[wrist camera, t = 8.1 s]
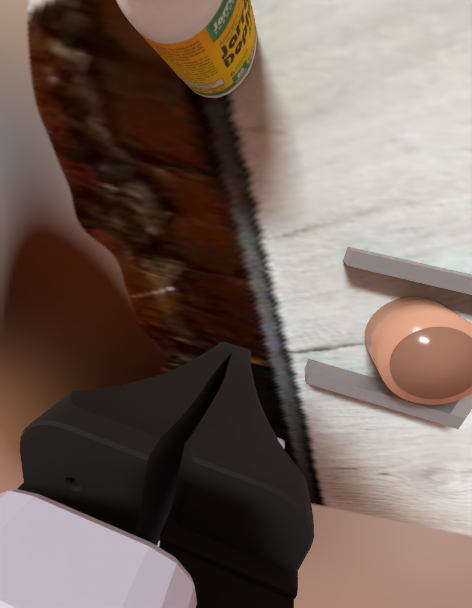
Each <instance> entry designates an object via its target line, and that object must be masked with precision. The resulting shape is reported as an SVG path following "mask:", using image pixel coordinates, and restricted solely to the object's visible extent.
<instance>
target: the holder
mask: <svg viewBox="0 0 472 608" xmlns="http://www.w3.org/2000/svg"><path fill="white" fill-rule="evenodd" d="M343 261H344V262H345V263H346V265H347V266H350V267H354V268H359V269H363V270H367V271H371V272H376V273H380V274H384V275H388V276H393V277H397V278H401V279H405V280H410V281H414V282H418V283H422V284H427V285H431V286H435V287H440V288H444V289H448V290H452V291H457V292H461V293H465V294H469V295H472V275H471V274H466V273H462V272H457V271H453V270H448V269H444V268H439V267H435V266H430V265H426V264H422V263H417V262H413V261H408V260H404V259H399V258H395V257H390V256H386V255H382V254H377V253H373V252H368V251H364V250H359V249H355V248H350V247H348V248H347V251H346V254H345V256H344V259H343ZM305 381H306V384H310V385H313V386H316V387H320V388H323V389H326V390H330V391H333V392H336V393H339V394H343V395H346V396H349V397H353V398H356V399H359V400H363V401H366V402H369V403H373V404H376V405H379V406H383V407H386V408H389V409H393V410H396V411H399V412H403V413H406V414H409V415H413V416H416V417H419V418H423V419H426V420H429V421H433V422H436V423H439V424H442V425H446V426H449V427H452V428H456V429H459V427H460V426H461V424H462V423H463V421H464V420H465V418H466V417H467V415H468V414H469V412H470V411H471V409H472V394H470V395H468V396H466V397H464V398H462V399H460V400H457V401H454V402H450V403H446V404H438V405H426V404H419V403H414V402H411V401H408V400H405V399H403V398H401V397H399V396H398V395H396V394H395V393H393V392H392V391H391V390H390V389H389V388H388V387H387V386H386V384H385V383H384V381H382V380H379V379H375V378H372V377H368V376H365V375H362V374H358V373H355V372H351V371H348V370H344V369H341V368H337V367H334V366H330V365H327V364H323V363H320V362H316V361H313V360H309V359H308V362H307V365H306V368H305Z"/></svg>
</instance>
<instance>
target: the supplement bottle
mask: <svg viewBox="0 0 472 608" xmlns="http://www.w3.org/2000/svg"><path fill="white" fill-rule="evenodd" d="M116 1H117V3H118V5H119V7H120V8H121V10H122V12H123V13H124V15H125V16H126V18H127V19H128V20H129V21H130V23H131V24H132V25H133V26H134V27H135V29H136V30H137V31H138V32H139V33H140V34H141V35H142V36H143V37H144V38H145V40H146V41H147V42H148V43H149V44H150V45H151V46H152V47H153V48H154V49H155V51H156V52H157V53H158V54H159V55H160V56H161V57H162V58H163V59H164V60H165V62H166V63H167V64H168V65H169V66H170V67H171V68H172V69H173V70H174V72H175V73H176V74H177V75H178V76H179V77H180V78H181V79H182V80H183V81H184V83H185V84H186V85H187V86H188V87H189V88H190V89H191V90H193V91H194V92H195V93H197V94H199V95H201V96H204V97H207V98H219V97H222V96H224V95H227V94H229V93H231V92H232V91H233V90H235V89H236V88H237V87H238V86H239V85H240V84H241V83H242V82H243V80H244V79H245V78H246V77H247V75H248V73H249V71H250V69H251V67H252V64H253V61H254V57H255V52H256V45H257V33H256V25H255V19H254V15H253V11H252V6H251V2H250V0H116Z"/></svg>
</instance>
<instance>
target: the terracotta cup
mask: <svg viewBox="0 0 472 608" xmlns="http://www.w3.org/2000/svg"><path fill="white" fill-rule="evenodd" d="M365 344H366V347H367V350H368V352H369V354H370V356H371V358H372V360H373V362H374V364H375V365H376V367H377V369H378V371H379V373H380V375H381V377H382V379H383V381H384V383H385V384H386V386H387V387H388V388H389V389H390V390H391V391H392V392H393V393H395V394H396V395H398V396H399V397H401V398H403V399H405V400H408V401H411V402H414V403H419V404H426V405H438V404H446V403H450V402H454V401H457V400H460V399H462V398H464V397H466V396H468V395H470V394H472V324H471V323H470V322H468V321H467V320H465V319H464V318H462V317H461V316H459V315H457V314H456V313H454V312H453V311H451V310H450V309H448V308H446V307H445V306H443V305H442V304H440V303H438V302H436V301H434V300H431V299H428V298H424V297H405V298H400V299H397V300H394V301H391V302H389V303H387V304H386V305H384V306H382V307H381V308H380V309H379V310H377V311H376V312H375V313H374V314H373V316H372V317H371V318H370V320H369V322H368V324H367V326H366V330H365Z"/></svg>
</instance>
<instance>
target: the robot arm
mask: <svg viewBox="0 0 472 608" xmlns="http://www.w3.org/2000/svg"><path fill="white" fill-rule="evenodd" d="M284 448H285V441H284V440H282V439H280V438H277V437H276V435H275V433H274V431H273V430H272V428H271V426H270V424H269V422H268V420H267V418H266V416H265V414H264V411H263V409H262V406H261V404H260V401H259V398H258V395H257V392H256V389H255V385H254V381H253V376H252V370H251V352H250V350H248V349H245V348H242V347H238V346H235V345H232V344H229V343H225V342H221V343H220V344H218V345H217V346H215V347H214V348H212V349H211V350H209V351H208V352H206V353H204V354H203V355H201V356H199V357H198V358H196V359H194V360H193V361H191V362H189V363H187V364H185V365H183V366H181V367H179V368H177V369H174V370H172V371H169V372H167V373H164V374H161V375H159V376H155V377H152V378H148V379H145V380H141V381H138V382H134V383H129V384H125V385H119V386H114V387H108V388H100V389H92V390H83V391H73V392H71V393H70V394H68V395H67V396H65V397H64V398H63V399H61V400H60V401H59V402H57V403H56V404H55V405H54V406H52V407H51V408H50V409H49V410H47V411H46V412H45V413H44V414H42V415H41V416H40V417H39V418H37V420H35V421H34V422H32V423H31V424H30V425H29V426H28V427H26V428H25V429H24V431H23V434H22V436H21V441H20V453H21V461H22V469H23V478H24V483H23V484H22V485H21V486H20V487H19V488H18V489H16V490H10V491H7V492H4V493H2V494H0V608H294V599H295V597H296V596H297V590H298V589H297V588H298V587H297V586H298V577H297V576H298V569H299V568H300V566H301V564H302V562H303V560H304V558H305V557H306V554H307V553H308V551H309V549H310V548H311V545H312V542H313V538H314V524H313V514H312V508H311V502H310V496H309V491H308V487H307V482H306V478H305V476H304V475H303V473H302V472H301V471H300V470H299V468H298V467H297V466H296V464H295V463H294V462H293V461H292V459H291V458H290V457H289V455H288V454H287V453H286V451H285V450H284Z"/></svg>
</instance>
